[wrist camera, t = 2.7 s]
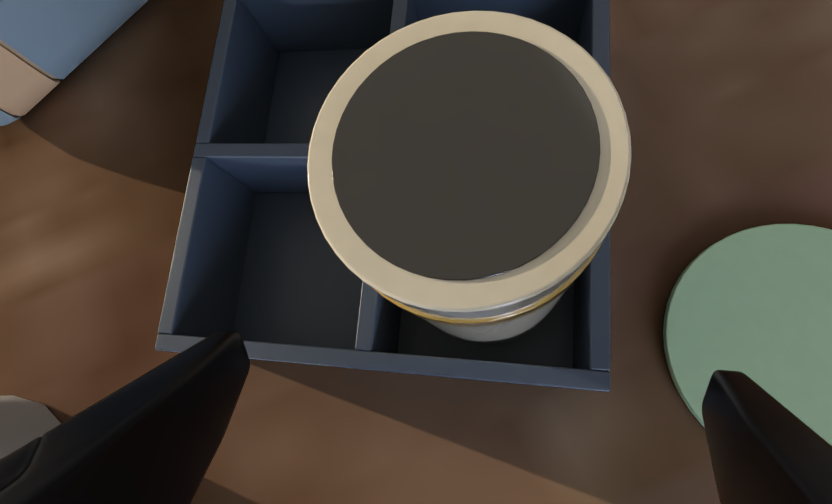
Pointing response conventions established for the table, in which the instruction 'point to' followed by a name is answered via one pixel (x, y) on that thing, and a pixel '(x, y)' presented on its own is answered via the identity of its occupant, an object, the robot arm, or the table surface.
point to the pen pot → (470, 170)
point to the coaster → (758, 319)
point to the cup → (22, 422)
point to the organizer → (296, 223)
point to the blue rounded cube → (50, 44)
